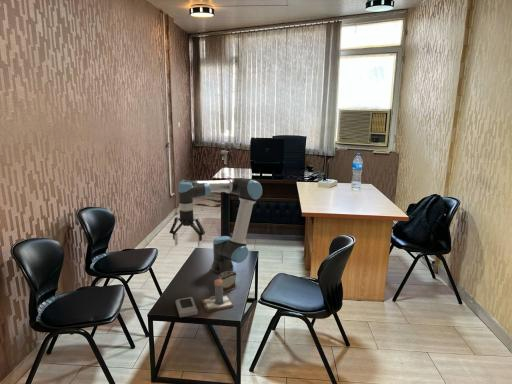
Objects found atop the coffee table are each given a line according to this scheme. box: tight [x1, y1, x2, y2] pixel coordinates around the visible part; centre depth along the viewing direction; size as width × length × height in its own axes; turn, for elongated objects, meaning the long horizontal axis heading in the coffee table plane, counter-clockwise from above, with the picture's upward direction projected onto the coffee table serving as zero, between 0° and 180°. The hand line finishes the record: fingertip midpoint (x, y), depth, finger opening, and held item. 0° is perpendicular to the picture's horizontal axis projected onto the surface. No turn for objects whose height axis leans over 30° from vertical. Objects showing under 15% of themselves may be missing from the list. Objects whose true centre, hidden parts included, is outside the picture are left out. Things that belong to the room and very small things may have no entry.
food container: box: [218, 270, 238, 294], centre depth 220 cm, size 12×6×10 cm, turn 134°
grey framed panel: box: [175, 296, 199, 318], centre depth 198 cm, size 10×4×15 cm
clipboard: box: [201, 294, 234, 313], centre depth 203 cm, size 12×15×2 cm
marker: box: [213, 278, 224, 304], centre depth 201 cm, size 5×5×13 cm
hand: (187, 245), depth 208 cm, fingers open, 13 cm apart
